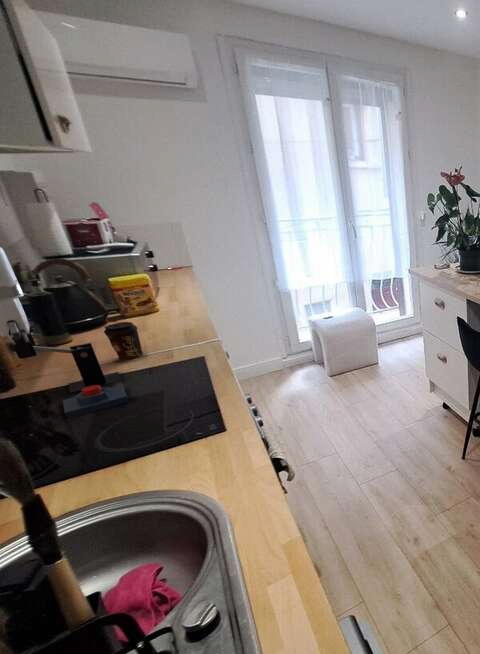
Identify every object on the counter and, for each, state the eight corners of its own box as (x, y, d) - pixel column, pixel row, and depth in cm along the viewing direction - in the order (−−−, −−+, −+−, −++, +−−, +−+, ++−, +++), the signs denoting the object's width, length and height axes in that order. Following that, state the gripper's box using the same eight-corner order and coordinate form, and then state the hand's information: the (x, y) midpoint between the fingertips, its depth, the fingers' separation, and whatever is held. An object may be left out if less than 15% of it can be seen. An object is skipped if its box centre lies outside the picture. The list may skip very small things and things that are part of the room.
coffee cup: (109, 362, 142) (95, 326, 137) (138, 353, 149) (126, 319, 144) (124, 366, 139) (110, 330, 134) (153, 357, 146) (141, 322, 141)
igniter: (67, 420, 107) (61, 406, 106) (65, 407, 113) (59, 394, 112) (129, 402, 116) (124, 390, 114) (124, 391, 122) (119, 379, 121)
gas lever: (20, 353, 111) (22, 345, 111) (20, 348, 114) (22, 340, 114) (89, 358, 121) (91, 351, 121) (88, 354, 125) (90, 347, 124)
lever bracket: (71, 396, 119) (54, 356, 115) (69, 386, 125) (52, 348, 120) (123, 383, 127) (108, 345, 122) (119, 375, 132) (105, 338, 128)
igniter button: (84, 398, 111) (81, 392, 110) (83, 393, 113) (80, 388, 113) (102, 393, 114) (100, 387, 113) (101, 389, 116) (99, 383, 115)
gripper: (-21, 290, 110) (8, 348, 116) (-26, 301, 100) (6, 365, 106) (22, 285, 116) (47, 341, 122) (21, 295, 105) (49, 356, 111)
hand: (28, 352), depth 114 cm, fingers open, 9 cm apart
